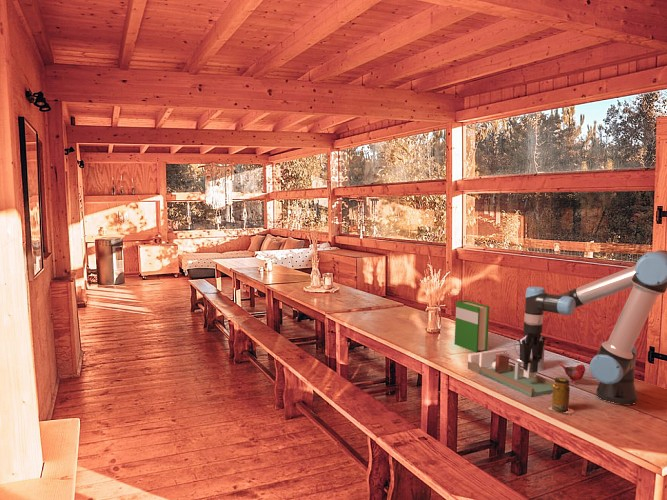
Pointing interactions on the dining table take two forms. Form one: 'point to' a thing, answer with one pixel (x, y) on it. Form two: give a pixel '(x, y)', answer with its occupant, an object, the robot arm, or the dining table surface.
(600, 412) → the dining table surface
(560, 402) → the condiment
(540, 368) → the glass holder
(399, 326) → the dining table surface
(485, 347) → the hardback book
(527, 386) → the pitch
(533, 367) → the foosball rod
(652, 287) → the robot arm
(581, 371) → the decorative bird figurine
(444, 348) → the dining table surface
